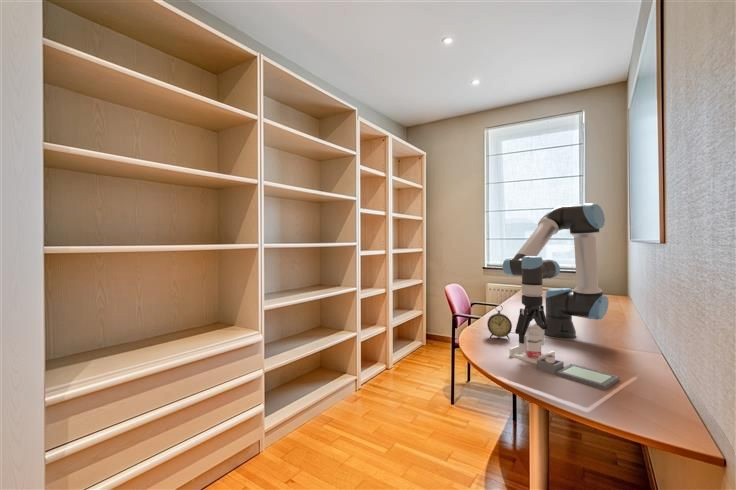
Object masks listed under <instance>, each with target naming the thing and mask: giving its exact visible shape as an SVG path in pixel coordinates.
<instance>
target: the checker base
mask: <svg viewBox="0 0 736 490" xmlns="http://www.w3.org/2000/svg"><path fill="white" fill-rule="evenodd" d="M572 366H576V367H580V368H583V369H587V370H590V371H594V372H598V373H601V374H605V375H609V376H612V378H610V379H609V380H607V381H606V382H604V383H602V384H601V383H598V382H595V381H591V380H588V379H584V378H581V377H578V376H574V375H571V374H567V373H564V372H562V371H564V370H566V369H568V368H570V367H572ZM554 375H556V376H558V377H561V378H565V379H567V380H571V381H574V382H578V383H581V384H584V385H588V386H590V387H593V388H594V387H595V388H597V389H601V390H602V391H603V390H604V391H606V390H607V389H608V388H610V387H612V386H613V385H615V384H616V383H618V382H619V381H620V376H617V375H614V374H611V373H607V372H603V371H599V370H595V369H594V368H593V369H592V368H588V367H584V366H580V365H577V364H573V363H569V364H566V366H564V367H563V368H561V369H559V370H557V371H555V374H554Z"/></svg>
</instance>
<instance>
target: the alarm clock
mask: <svg viewBox="0 0 736 490" xmlns="http://www.w3.org/2000/svg"><path fill="white" fill-rule="evenodd" d="M498 306H499V307H501V310H497V307H498ZM494 308H495V310H497V313H493V314H492V315H490V316H489V317H488V319H487V323H486V324H487V329H488V331H489V332H490V334H491V335H490V336H489V338H490V339H491V338H492V337H493V336H494V337H498V338H505V337H506V338H508V339H509V340H510V339H511V338H510V337H509V334H510V333H512V332H511V331H512V328H513V324H512V322H511V319H509V317H508V316H507V315H506V314H504V313H501V312H502V310H503V309H504V308H503V305H501V304H496V305H495V307H494Z"/></svg>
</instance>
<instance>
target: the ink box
mask: <svg viewBox="0 0 736 490" xmlns="http://www.w3.org/2000/svg"><path fill="white" fill-rule="evenodd" d="M525 335H527V352H524V353H525V354H526V355H527V356H528V357H529V358H539V356H541V353H542V345H541V342H542V328H540V327H539V326H538V325H537V324H536V322H535V323H533V322H530V324H529V326H528V329H527V331H526V334H525Z"/></svg>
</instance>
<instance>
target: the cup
mask: <svg viewBox="0 0 736 490" xmlns="http://www.w3.org/2000/svg"><path fill="white" fill-rule="evenodd" d="M564 364H565V363H564V361H562V360H558V359H555V364H554V365H553V364H550V363H546V362H545V357H544V358H542V359H539V360H537V364H536V370H540V371H543V372H545V373H549V374H552V375H555V371H557V370H559V369H561V368H563V367H565V366H564Z"/></svg>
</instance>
